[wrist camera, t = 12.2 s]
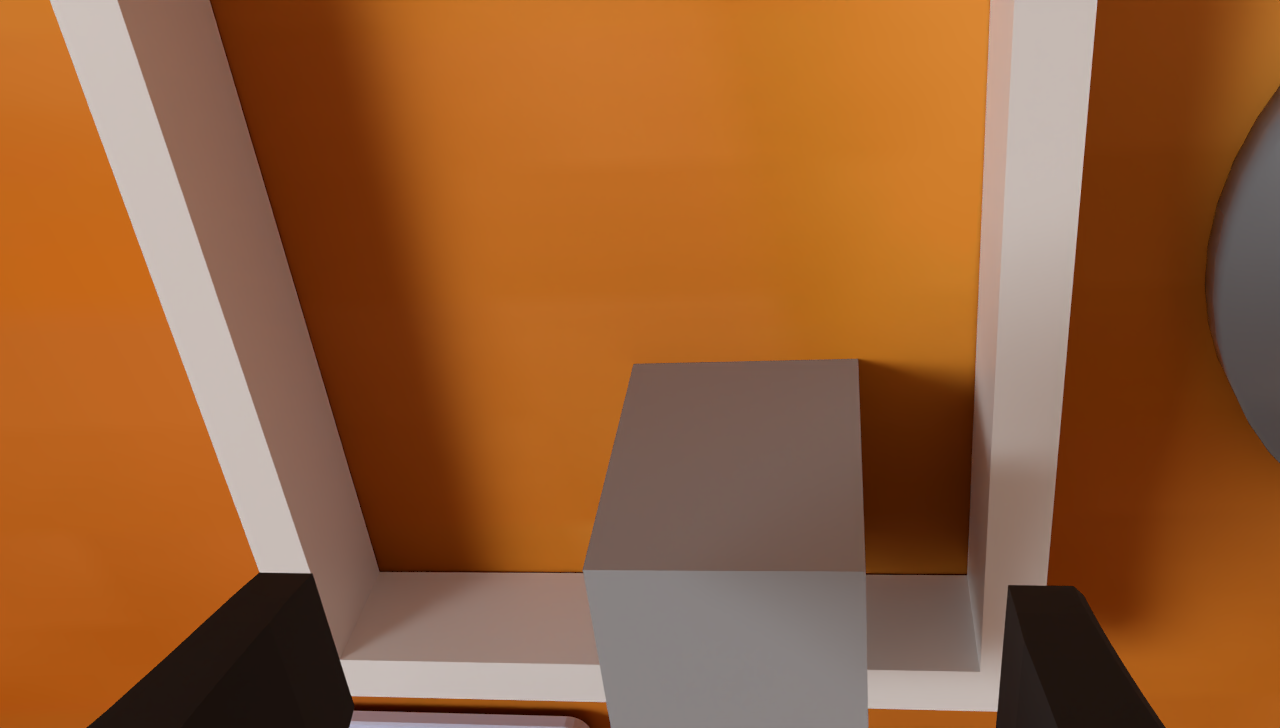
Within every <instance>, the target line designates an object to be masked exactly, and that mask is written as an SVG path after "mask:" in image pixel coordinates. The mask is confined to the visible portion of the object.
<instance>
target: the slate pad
mask: <svg viewBox="0 0 1280 728" xmlns="http://www.w3.org/2000/svg"><path fill="white" fill-rule="evenodd" d="M1205 292H1206V303H1207V314H1208V323H1209V327H1210V331H1211V335H1212V338H1213V342H1214V346H1215V350H1216V353H1217V357H1218V359H1219V362H1220V364H1221V366H1222V368H1223V370H1224V372H1225V374H1226V377H1227V379H1228V381H1229V383H1230V385H1231V387H1232V389H1233V392H1234V394H1235V396H1236V398H1237V400H1238V402H1239V404H1240V406H1241V408H1242V410H1243V412H1244V414H1245V416H1246V418H1247V420H1248V422H1249V424H1250V425H1251V427H1252V428H1253V430H1254V431H1255V432H1256V434H1257V435H1258V437H1259V438H1260V440H1261V441H1262V443H1263V444H1264V445H1265V447H1266V448H1267V450H1268V451H1269V452H1270V453H1271V455H1272V456H1273V457H1274V458H1275V459H1276V460H1277V461H1278V462H1279V463H1280V86H1279V88H1278V89H1277V90H1276V92H1275V93H1274V95H1273V96H1272V98H1271V99H1270V100H1269V102H1268V103H1267V105H1266V106H1265V108H1264V109H1263V110H1262V112H1261V113H1260V115H1259V116H1258V118H1257V119H1256V121H1255V123H1254V125H1253V127H1252V128H1251V130H1250V132H1249V134H1248V136H1247V138H1246V140H1245V141H1244V143H1243V145H1242V147H1241V149H1240V151H1239V153H1238V154H1237V156H1236V158H1235V160H1234V162H1233V164H1232V167H1231V170H1230V172H1229V175H1228V178H1227V180H1226V183H1225V185H1224V188H1223V191H1222V193H1221V196H1220V199H1219V201H1218V204H1217V208H1216V212H1215V216H1214V221H1213V225H1212V230H1211V234H1210V238H1209V243H1208V250H1207V263H1206V277H1205Z"/></svg>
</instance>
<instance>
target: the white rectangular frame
mask: <svg viewBox="0 0 1280 728" xmlns="http://www.w3.org/2000/svg"><path fill="white" fill-rule="evenodd" d="M50 2H51V4H52V7H53V10H54V12H55V15H56V18H57V21H58V23H59V26H60V29H61V32H62V34H63V37H64V40H65V42H66V45H67V48H68V51H69V53H70V56H71V59H72V62H73V64H74V67H75V70H76V72H77V75H78V78H79V81H80V83H81V86H82V89H83V92H84V94H85V97H86V100H87V103H88V105H89V108H90V111H91V113H92V116H93V119H94V122H95V124H96V127H97V130H98V133H99V135H100V138H101V141H102V143H103V146H104V149H105V152H106V154H107V157H108V160H109V163H110V165H111V168H112V171H113V173H114V176H115V179H116V182H117V184H118V187H119V190H120V193H121V195H122V198H123V201H124V203H125V206H126V209H127V212H128V214H129V217H130V220H131V223H132V225H133V228H134V231H135V233H136V236H137V239H138V242H139V244H140V247H141V250H142V253H143V255H144V258H145V261H146V264H147V266H148V269H149V272H150V274H151V277H152V280H153V283H154V285H155V288H156V291H157V294H158V296H159V299H160V302H161V304H162V307H163V310H164V313H165V315H166V318H167V321H168V324H169V326H170V329H171V332H172V334H173V337H174V340H175V343H176V345H177V348H178V351H179V354H180V356H181V359H182V362H183V364H184V367H185V370H186V373H187V375H188V378H189V381H190V384H191V386H192V389H193V392H194V394H195V397H196V400H197V403H198V405H199V408H200V411H201V414H202V416H203V419H204V422H205V424H206V427H207V430H208V433H209V435H210V438H211V441H212V444H213V446H214V449H215V452H216V455H217V457H218V460H219V463H220V465H221V468H222V471H223V474H224V476H225V479H226V482H227V485H228V487H229V490H230V493H231V495H232V498H233V501H234V504H235V506H236V509H237V512H238V515H239V517H240V520H241V523H242V525H243V528H244V531H245V534H246V536H247V539H248V542H249V545H250V547H251V550H252V553H253V555H254V558H255V561H256V564H257V566H258V569H259V572H260V573H313V576H314V579H315V583H316V586H317V589H318V592H319V595H320V598H321V602H322V605H323V608H324V611H325V614H326V618H327V621H328V624H329V627H330V630H331V633H332V637H333V640H334V643H335V646H336V649H337V652H338V656H339V659H340V662H341V665H342V668H343V672H344V675H345V678H346V681H347V684H348V687H349V691H350V694H351V696H372V697H414V698H455V699H497V700H539V701H581V702H606V697H605V692H604V686H603V681H602V675H601V669H600V664H599V658H598V653H597V647H596V641H595V636H594V630H593V625H592V619H591V614H590V608H589V602H588V597H587V591H586V586H585V580H584V574H583V573H478V572H379V568H378V565H377V562H376V558H375V555H374V551H373V548H372V545H371V541H370V538H369V535H368V531H367V528H366V525H365V521H364V518H363V514H362V511H361V508H360V504H359V501H358V498H357V494H356V491H355V488H354V484H353V481H352V478H351V474H350V471H349V467H348V464H347V461H346V457H345V454H344V451H343V447H342V444H341V441H340V437H339V434H338V430H337V427H336V424H335V420H334V417H333V414H332V410H331V407H330V404H329V400H328V397H327V393H326V390H325V387H324V383H323V380H322V377H321V373H320V370H319V367H318V363H317V360H316V356H315V353H314V350H313V346H312V343H311V340H310V336H309V333H308V330H307V326H306V323H305V319H304V316H303V313H302V309H301V306H300V303H299V299H298V296H297V293H296V289H295V286H294V282H293V279H292V276H291V272H290V269H289V266H288V262H287V259H286V256H285V252H284V249H283V246H282V242H281V239H280V235H279V232H278V229H277V225H276V222H275V219H274V215H273V212H272V209H271V205H270V202H269V198H268V195H267V192H266V188H265V185H264V182H263V178H262V175H261V172H260V168H259V165H258V161H257V158H256V155H255V151H254V148H253V145H252V141H251V138H250V135H249V131H248V128H247V124H246V121H245V118H244V114H243V111H242V108H241V104H240V101H239V98H238V94H237V91H236V87H235V84H234V81H233V77H232V74H231V71H230V67H229V64H228V61H227V57H226V54H225V51H224V47H223V44H222V40H221V37H220V34H219V30H218V27H217V24H216V20H215V17H214V14H213V10H212V7H211V3H210V0H50ZM1096 11H1097V0H990V25H989V49H988V74H987V99H986V123H985V148H984V172H983V197H982V222H981V246H980V271H979V295H978V320H977V345H976V369H975V394H974V418H973V443H972V468H971V492H970V517H969V541H968V566H967V575H866V619H867V682H868V708H873V709H914V710H956V711H997V710H998V698H999V687H1000V675H1001V663H1002V651H1003V639H1004V628H1005V616H1006V604H1007V592H1008V585H1038V586H1047V575H1048V563H1049V552H1050V540H1051V529H1052V517H1053V506H1054V494H1055V483H1056V471H1057V460H1058V448H1059V437H1060V425H1061V414H1062V402H1063V391H1064V379H1065V368H1066V356H1067V345H1068V333H1069V322H1070V310H1071V299H1072V287H1073V276H1074V264H1075V253H1076V241H1077V230H1078V218H1079V207H1080V195H1081V184H1082V172H1083V161H1084V149H1085V138H1086V126H1087V115H1088V103H1089V92H1090V80H1091V69H1092V57H1093V46H1094V34H1095V23H1096Z"/></svg>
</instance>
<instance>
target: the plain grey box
mask: <svg viewBox="0 0 1280 728" xmlns="http://www.w3.org/2000/svg"><path fill="white" fill-rule="evenodd" d="M583 574H584V580H585V586H586V591H587V597H588V602H589V608H590V614H591V619H592V625H593V630H594V636H595V641H596V647H597V653H598V658H599V664H600V669H601V675H602V681H603V686H604V692H605V697H606V703H607V709H608V714H609V720H610V725H611V728H868V682H867V619H866V565H865V537H864V509H863V481H862V453H861V424H860V396H859V368H858V359H834V360H789V361H745V362H701V363H656V364H633V368H632V373H631V377H630V381H629V385H628V389H627V393H626V397H625V401H624V405H623V409H622V413H621V417H620V421H619V425H618V429H617V433H616V437H615V441H614V445H613V449H612V454H611V458H610V462H609V466H608V470H607V474H606V478H605V482H604V486H603V490H602V494H601V498H600V502H599V506H598V510H597V514H596V518H595V522H594V526H593V530H592V535H591V539H590V543H589V547H588V551H587V555H586V559H585V563H584V567H583Z"/></svg>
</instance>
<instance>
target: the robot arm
mask: <svg viewBox="0 0 1280 728" xmlns="http://www.w3.org/2000/svg"><path fill="white" fill-rule="evenodd" d="M87 728H589V726H588V725H587V724H586V723H584V722H583V721H582V720H580V719H578V718H575V717H569V716H541V715H503V714H465V713H427V712H388V711H354V703H353V700H352V697H351V694H350V691H349V687H348V684H347V681H346V678H345V675H344V672H343V668H342V665H341V662H340V659H339V656H338V652H337V649H336V646H335V643H334V640H333V637H332V633H331V630H330V627H329V624H328V621H327V618H326V614H325V611H324V608H323V605H322V602H321V598H320V595H319V592H318V589H317V586H316V583H315V579H314V576H313V573H259V574H257V575H256V576H255V577H254V578H253V579H252V580H250V581H249V582H248V583H247V584H246V585H245V586H243V587H242V588H241V589H240V590H239V591H238V592H237V593H236V594H234V595H233V596H232V597H231V598H230V599H229V600H228V601H227V602H226V603H225V604H223V605H222V606H221V607H220V608H219V609H218V610H217V611H216V612H215V613H214V614H213V615H211V616H210V617H209V618H208V619H207V620H206V621H205V622H204V623H203V624H202V625H201V626H200V627H198V628H197V629H196V630H195V631H194V632H193V633H192V634H191V635H190V636H189V637H188V638H187V639H186V640H184V641H183V642H182V643H181V644H180V645H179V646H178V647H177V648H176V649H175V650H174V651H173V652H171V653H170V654H169V655H168V656H167V657H166V658H165V659H164V660H163V661H162V662H160V663H159V664H158V665H157V666H156V667H155V668H154V669H153V670H152V671H150V672H149V673H148V674H147V675H146V676H145V677H144V678H143V679H142V680H140V681H139V682H138V683H137V684H136V685H135V686H134V687H133V688H132V689H130V690H129V691H128V692H127V693H126V694H125V695H124V696H123V697H122V698H120V699H119V700H118V701H117V702H116V703H115V704H114V705H113V706H112V707H110V708H109V709H108V710H107V711H106V712H105V713H104V714H102V715H101V716H100V717H99V718H98V719H96V720H95V721H94V722H93V723H92V724H90V725H89V726H88V727H87ZM996 728H1165V726H1164V725H1163V723H1162V722H1161V721H1160V719H1159V718H1158V716H1157V715H1156V713H1155V712H1154V710H1153V709H1152V707H1151V706H1150V704H1149V703H1148V701H1147V700H1146V698H1145V697H1144V695H1143V694H1142V692H1141V691H1140V689H1139V688H1138V686H1137V685H1136V683H1135V681H1134V680H1133V678H1132V677H1131V675H1130V674H1129V672H1128V671H1127V669H1126V667H1125V666H1124V664H1123V663H1122V661H1121V659H1120V658H1119V656H1118V655H1117V653H1116V651H1115V650H1114V648H1113V646H1112V645H1111V643H1110V641H1109V640H1108V638H1107V636H1106V635H1105V633H1104V631H1103V630H1102V628H1101V626H1100V624H1099V623H1098V621H1097V619H1096V617H1095V615H1094V614H1093V612H1092V610H1091V608H1090V606H1089V605H1088V603H1087V601H1086V599H1085V597H1084V595H1083V594H1081V593H1080V592H1079V591H1078V590H1077V589H1076V588H1075V587H1074V586H1038V585H1008V592H1007V604H1006V616H1005V628H1004V639H1003V651H1002V663H1001V675H1000V687H999V698H998V710H997V722H996Z"/></svg>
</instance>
